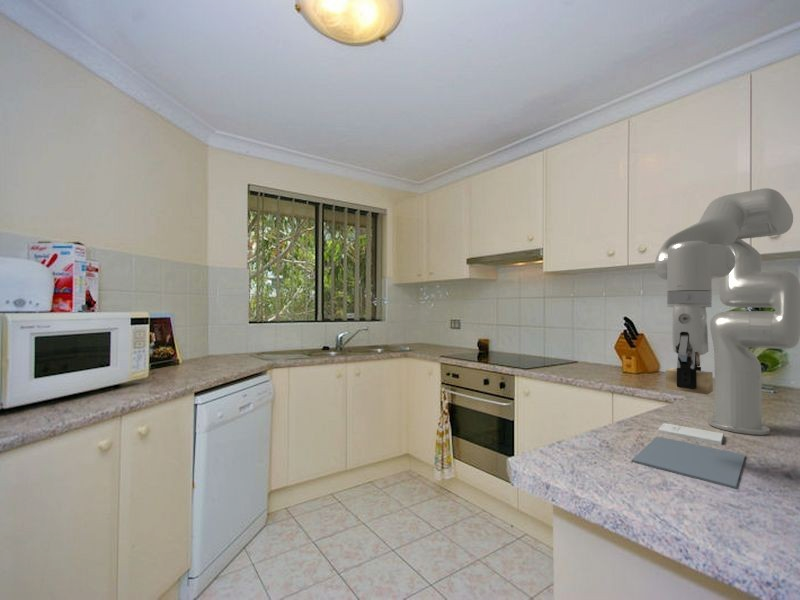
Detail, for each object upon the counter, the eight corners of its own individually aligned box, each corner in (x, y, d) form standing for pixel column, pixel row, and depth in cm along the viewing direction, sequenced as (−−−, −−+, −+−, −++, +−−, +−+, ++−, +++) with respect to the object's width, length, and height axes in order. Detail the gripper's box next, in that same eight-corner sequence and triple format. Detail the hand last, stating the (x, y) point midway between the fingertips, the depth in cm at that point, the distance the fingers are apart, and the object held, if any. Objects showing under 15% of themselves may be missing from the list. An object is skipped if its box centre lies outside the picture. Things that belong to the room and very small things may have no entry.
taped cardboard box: (712, 391, 79) (712, 371, 80) (707, 394, 76) (707, 373, 76) (672, 386, 85) (672, 367, 85) (666, 388, 81) (666, 369, 81)
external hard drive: (721, 447, 89) (658, 434, 98) (723, 439, 95) (664, 428, 104) (721, 440, 89) (658, 428, 98) (723, 432, 95) (664, 421, 104)
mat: (657, 438, 93) (657, 436, 93) (745, 456, 82) (745, 454, 82) (631, 461, 78) (631, 459, 78) (735, 488, 66) (735, 486, 66)
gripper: (705, 298, 72) (705, 395, 72) (716, 301, 84) (717, 384, 84) (658, 299, 78) (658, 388, 77) (675, 301, 90) (675, 379, 89)
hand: (689, 385), depth 80 cm, fingers closed on taped cardboard box, 5 cm apart
